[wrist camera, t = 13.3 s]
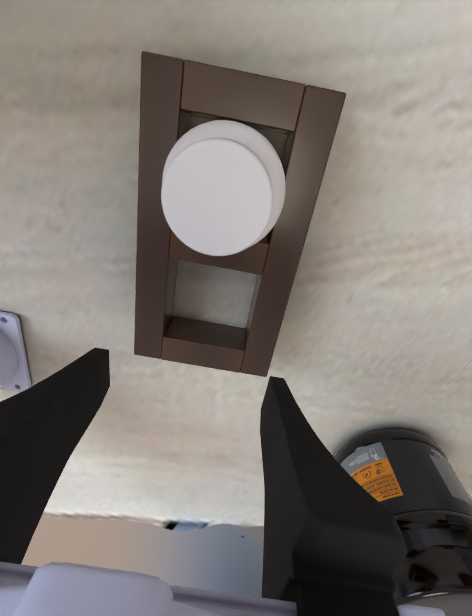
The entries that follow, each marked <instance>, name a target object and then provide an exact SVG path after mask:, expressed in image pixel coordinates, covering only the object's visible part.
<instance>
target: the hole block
mask: <svg viewBox="0 0 472 616" xmlns="http://www.w3.org/2000/svg"><path fill="white" fill-rule="evenodd" d="M345 97H346V93H345V92H340V91H335V90H330V89H325V88H320V87H316V86H311V85H306V86H305V84H301V83H297V82H292V81H287V80H282V79H277V78H272V77H267V76H262V75H258V74H253V73H248V72H243V71H238V70H233V69H228V68H223V67H219V66H214V65H209V64H204V63H199V62H194V61H189V60H183V59H179V58H174V57H169V56H164V55H160V54H155V53H150V52H145V51H143V52H142V56H141V97H140V137H139V178H138V219H137V259H136V300H135V341H134V354H135V355H140V356H146V357H152V358H158V359H162V360H168V361H174V362H180V363H186V364H192V365H198V366H203V367H209V368H215V369H221V370H227V371H233V372H239V373H240V372H241V373H246V374H252V375H258V376H264V377H266V376H267V373H268V370H269V366H270V363H271V359H272V356H273V352H274V349H275V345H276V341H277V338H278V334H279V331H280V327H281V324H282V320H283V317H284V313H285V310H286V306H287V303H288V299H289V295H290V292H291V288H292V285H293V281H294V278H295V274H296V271H297V267H298V264H299V260H300V257H301V253H302V249H303V246H304V242H305V239H306V235H307V232H308V228H309V225H310V221H311V218H312V214H313V211H314V207H315V203H316V200H317V196H318V193H319V189H320V186H321V182H322V179H323V175H324V172H325V168H326V165H327V161H328V157H329V154H330V150H331V147H332V143H333V140H334V136H335V133H336V129H337V126H338V122H339V119H340V115H341V112H342V108H343V104H344V101H345ZM191 114H192V115H197V116H202V117H207V118H212V119H217V120H229V121H235V122H239V123H242V124H245V125H247V126H252V127H257V128H262V129H267V130H272V131H277V132H282V133H287V134H288V133H289V137H288V141H287V146H286V150H285V155H284V159H283V164H282V167H283V170H284V175H285V183H286V187H285V199H284V204H283V208H282V211H281V214H280V216H279V218H278V220H277V222H276V223H275V225H274V226H273V228H272V229H271V230H270V232H269V233H268V234H267V235H266V236H265V237H264V238H262V239H261V240H260V241H259V242H257V243H256V244H254V245H252V246H250V247H248V248H246V249H245V250H243V251H240V252H238V253H235V254H232V255H226V256H212V255H207V254H203V253H200V252H198V251H195V250H193V249H192V248H190V247H188V246H187V245H185V244H184V243H183V242H182V241H181V240H180V239H179V238H178V237H177V236H176V235H175V234H174V232H173V231H172V230H171V228H170V226H169V224H168V222H167V220H166V218H165V215H164V212H163V207H162V201H161V190H162V177H163V171H164V166H165V163H166V160H167V157H168V155H169V153H170V151H171V150H172V148H173V146H174V145H175V144H176V142H177V141H178V140H179V139H180V138H181V137H182V136H183V135H184V134H185V133H187V132H188V131H189V126H190V115H191ZM178 259H179V260H184V261H189V262H195V263H200V264H206V265H211V266H217V267H222V268H228V269H233V270H239V271H244V272H250V273H255V274H258V276H257V281H256V285H255V290H254V295H253V299H252V304H251V308H250V313H249V317H248V322H247V326H246V329H243V328H237V327H232V326H226V325H220V324H215V323H209V322H203V321H198V320H192V319H186V318H180V317H175V316H173V305H174V294H175V283H176V272H177V260H178ZM172 316H173V317H172Z"/></svg>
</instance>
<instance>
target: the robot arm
mask: <svg viewBox="0 0 472 616" xmlns="http://www.w3.org/2000/svg"><path fill="white" fill-rule="evenodd" d="M5 318H6V319H7V320H6V319H5ZM109 386H110V372H109V350H106V349H100V348H94V349H92V350H90V351H89V352H87V353H86V354H84V355H83V356H81V357H80V358H78V359H77V360H75V361H74V362H72V363H71V364H69V365H67V366H66V367H64V368H63V369H61V370H59V371H58V372H56V373H55V374H53V375H51V376H49V377H48V378H46V379H44V380H43V381H41V382H39V383H37V384H36V385H34V386H32V387H31V382H30V376H29V371H28V365H27V359H26V354H25V348H24V342H23V337H22V331H21V326H20V320H19V318H18V316H16V315H15V314H12V313H6V312H0V388H6V389H12V390H19V391H22V392H20V393H18V394H16V395H14V396H12V397H10V398H8V399H6V400H4V401H1V402H0V616H445V613H444V611H442V610H441V609H438V608H431V607H424V606H417V605H408V604H404V605H399V606H397V607H396V604H395V601H394V597H393V594H394V593H395V585H394V582H393V579H392V575H393V573H394V572H395V571H396V570H397V569H398V567H399V566H400V565H401V564H402V563H403V561H404V559H405V557H406V555H407V546H406V544H405V541H404V538H403V536H402V533H401V531H400V528H399V526H398V524H397V522H396V520H395V518H394V515H393V513H391V512H390V511H389V510H388V509H387V508H386V507H384V506H383V505H382V504H381V503H380V502H379V501H377V500H376V499H375V498H374V497H373V496H371V495H370V494H369V493H368V492H367V491H366V490H365V489H364V488H363V487H362V486H361V485H360V484H359V483H357V482H356V481H355V480H354V479H353V478H352V477H351V476H350V475H349V474H348V472H347V471H346V470H345V469H344V468H343V467H342V466H341V465H340V464H339V463H338V462H337V461H336V459H335V458H334V457H333V456H332V455H331V454H330V452H329V451H328V450H327V449H326V447H325V446H324V445H323V443H322V442H321V441H320V439H319V438H318V437H317V435H316V434H315V432H314V431H313V429H312V428H311V426H310V425H309V423H308V422H307V420H306V418H305V417H304V415H303V413H302V412H301V410H300V408H299V406H298V405H297V403H296V401H295V399H294V397H293V395H292V393H291V391H290V389H289V387H288V385H287V383H286V381H285V380H284V378H278V377H272V376H270V379H269V382H268V386H267V389H266V393H265V396H264V400H263V404H262V407H261V419H260V435H261V448H262V460H263V471H264V486H265V514H264V554H263V580H262V598H260V597H253V596H246V595H238V594H231V593H223V592H216V591H210V590H202V589H195V588H188V587H180V586H173V585H168V583H166V582H164V581H163V580H161V579H160V578H158V577H155V576H152V575H148V574H144V573H139V572H132V571H124V570H117V569H110V568H103V567H95V566H88V565H81V564H73V563H67V562H66V563H65V562H64V563H62V562H61V563H59V562H58V563H57V562H54V563H53V562H51V563H49V564H46V565H44V566H42V567H35V566H28V565H21V563H22V560H23V558H24V556H25V553H26V551H27V548H28V546H29V543H30V541H31V539H32V536H33V534H34V532H35V529H36V527H37V525H38V523H39V520H40V518H41V516H42V514H43V511H44V509H45V507H46V505H47V503H48V500H49V498H50V496H51V494H52V492H53V490H54V487H55V485H56V483H57V481H58V479H59V477H60V475H61V473H62V471H63V469H64V467H65V465H66V463H67V461H68V459H69V457H70V456H71V454H72V452H73V450H74V449H75V447H76V445H77V444H78V442H79V441H80V439H81V437H82V436H83V434H84V433H85V431H86V429H87V428H88V426H89V424H90V423H91V421H92V420H93V418H94V416H95V415H96V413H97V411H98V410H99V408H100V406H101V404H102V402H103V400H104V398H105V396H106V393H107V391H108V389H109ZM392 593H393V594H392Z"/></svg>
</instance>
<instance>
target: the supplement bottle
mask: <svg viewBox="0 0 472 616" xmlns="http://www.w3.org/2000/svg"><path fill="white" fill-rule="evenodd" d="M285 187H286V183H285V175H284V170H283V167H282V164H281V161H280V158H279V156H278V154H277V152H276V151H275V149H274V148H273V146H272V145H271V143H270V142H269V141H268V140H267V139H266V138H265V137H264V136H263V135H262V134H260V133H259V132H258V131H256V130H255V129H253V128H251V127H249V126H247V125H245V124H242V123H239V122H235V121H229V120H217V121H210V122H206V123H203V124H200V125H198V126H196V127H194V128H192V129H191V130H189V131H188V132H187V133H185V134H184V135H183V136H182V137H181V138H180V139H179V140H178V141H177V142H176V144H175V145H174V146H173V148H172V150H171V151H170V153H169V155H168V157H167V160H166V163H165V166H164V171H163V177H162V190H161V201H162V207H163V212H164V215H165V218H166V220H167V222H168V224H169V226H170V228H171V230H172V231H173V232H174V234H175V235H176V236H177V237H178V238H179V239H180V240H181V241H182V242H183V243H184V244H185V245H187V246H188V247H190V248H192V249H193V250H195V251H198V252H200V253H203V254H207V255H212V256H226V255H232V254H235V253H238V252H240V251H243V250H245V249H246V248H248V247H250V246H252V245H254V244H256V243H257V242H259V241H260V240H261V239H262V238H264V237H265V236H266V235H267V234H268V233H269V232H270V230H271V229H272V228H273V226H274V225H275V223H276V222H277V220H278V218H279V216H280V214H281V211H282V208H283V204H284V199H285Z"/></svg>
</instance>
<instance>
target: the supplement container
mask: <svg viewBox="0 0 472 616" xmlns="http://www.w3.org/2000/svg"><path fill="white" fill-rule="evenodd" d="M335 459H336V461H337V462H338V463H339V464H340V465H341V466H342V467H343V468H344V469H345V470H346V471H347V472H348V474H349V475H350V476H351V477H352V478H353V479H354V480H355V481H356V482H357V483H359V484H360V485H361V486H362V487H363V488H364V489H365V490H366V491H367V492H368V493H369V494H370V495H371V496H373V497H374V498H375V499H376V500H377V501H379V502H380V503H381V504H382V505H383V506H384V507H386V508H387V509H388V510H389V511H390V512H391V513H393V515H394V518H395V520H396V522H397V524H398V526H399V528H400V531H401V533H402V536H403V538H404V541H405V544H406V546H407V555H406V557H405V559H404V561H403V563H402V564H401V565H400V566H399V567H398V569H397V570H396V571H395V572H394V573H393V575H392V579H393V582H394V585H395V593H394V594H393V593H392V594H393V597H394V601H395V604H396V607H397V606H399V605H404V604H408V605H417V606H424V607H431V608H438V609H441V610H442V611H444V613H445V616H472V500H471V498H470V497H469V495H468V493H467V492H466V490H465V489H464V487H463V485H462V484H461V482H460V480H459V479H458V477H457V475H456V474H455V472H454V471H453V469H452V467H451V466H450V464H449V462H448V460H447V457H446V456H445V454H444V453H443V451H442V450H441V448H440V447H439V446H438V445H437V444H436V443H435V442H433V441H432V440H431V439H429V438H428V437H426V436H424V435H422V434H420V433H417V432H414V431H410V430H404V429H383V430H376V431H372V432H369V433H366V434H363V435H361V436H358V437H356V438H355V439H353V440H351V441H350V442H348V443H347V444H346V445H345V446H344V447H342V448H341V450H340V451H339V452H338V454H337V455H336V457H335Z"/></svg>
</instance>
